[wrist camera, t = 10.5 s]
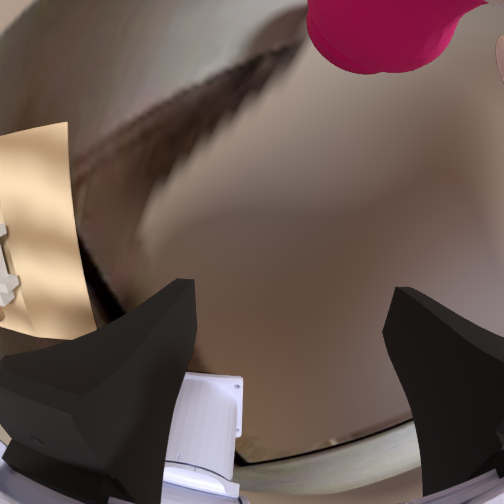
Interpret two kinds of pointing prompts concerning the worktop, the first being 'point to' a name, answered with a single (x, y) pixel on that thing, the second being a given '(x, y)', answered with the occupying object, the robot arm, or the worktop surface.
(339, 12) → the pepper mill
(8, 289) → the white tabbed block
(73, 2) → the worktop surface
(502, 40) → the foam cup
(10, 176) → the dock
